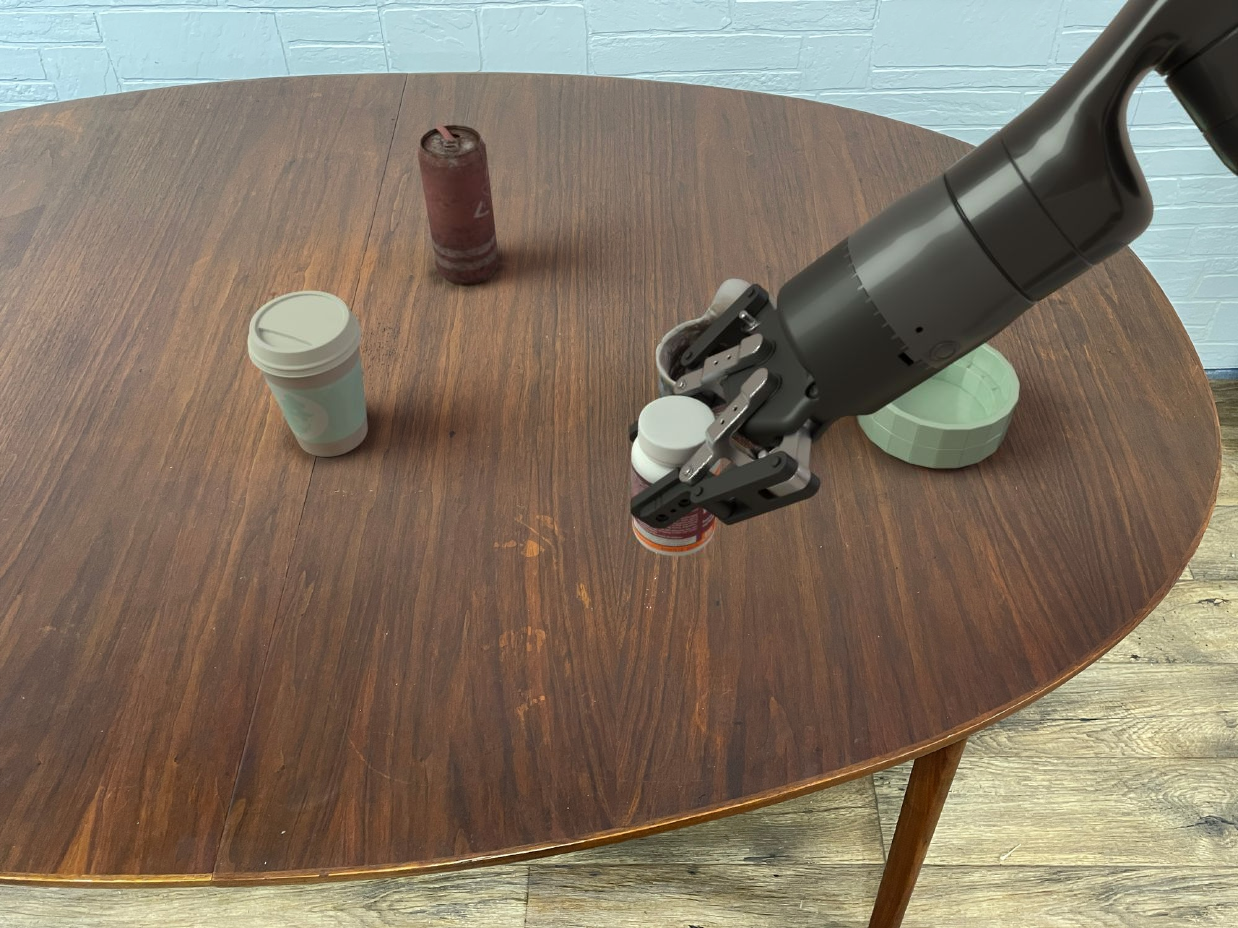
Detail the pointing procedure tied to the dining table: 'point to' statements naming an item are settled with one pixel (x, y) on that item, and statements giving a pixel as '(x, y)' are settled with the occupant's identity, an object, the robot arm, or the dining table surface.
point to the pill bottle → (660, 448)
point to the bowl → (950, 413)
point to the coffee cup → (313, 368)
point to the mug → (693, 337)
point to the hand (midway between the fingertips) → (641, 477)
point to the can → (459, 203)
